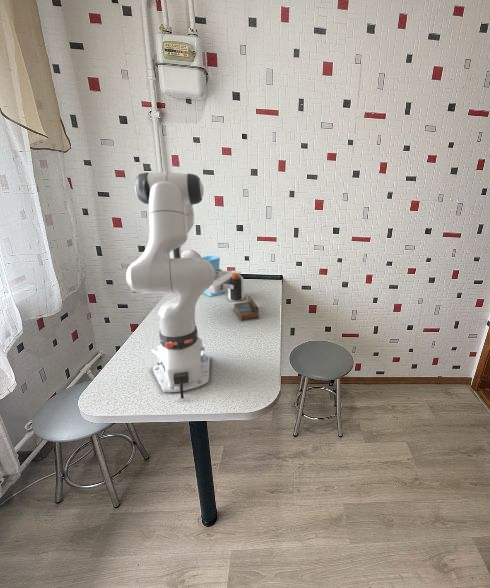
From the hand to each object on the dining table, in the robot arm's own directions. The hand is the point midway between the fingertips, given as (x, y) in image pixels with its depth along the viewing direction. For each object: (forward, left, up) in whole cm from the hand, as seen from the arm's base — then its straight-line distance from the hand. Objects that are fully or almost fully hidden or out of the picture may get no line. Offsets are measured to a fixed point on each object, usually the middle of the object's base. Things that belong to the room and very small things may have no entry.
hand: (237, 284), depth 148 cm
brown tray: (+4, -5, -17) cm, 18 cm away
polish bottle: (+1, +1, -7) cm, 7 cm away
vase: (+36, +5, -17) cm, 40 cm away
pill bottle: (+24, -5, -17) cm, 30 cm away
